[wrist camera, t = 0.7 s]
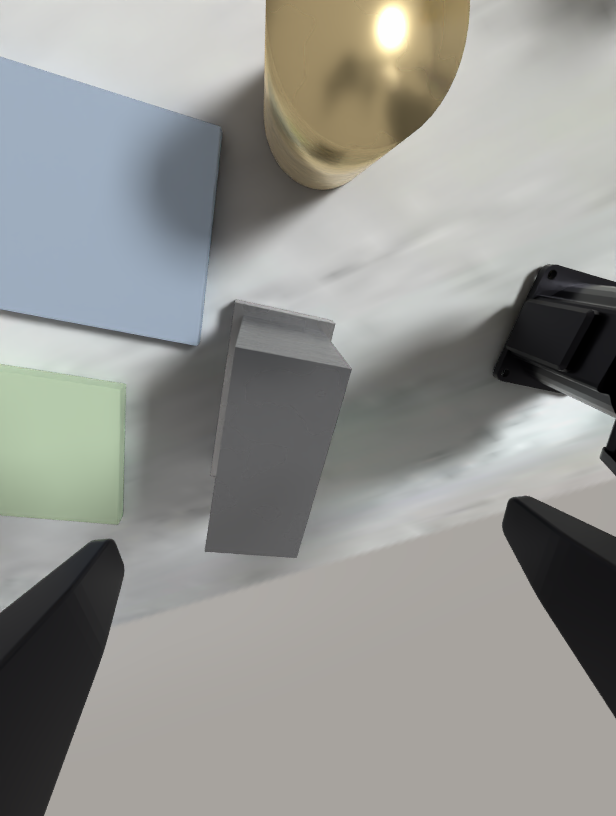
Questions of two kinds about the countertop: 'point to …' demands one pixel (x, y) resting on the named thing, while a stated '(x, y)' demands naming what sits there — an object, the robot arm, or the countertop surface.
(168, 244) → the slate mat
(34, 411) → the sage mat
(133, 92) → the countertop surface
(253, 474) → the grey block with base
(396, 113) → the gold metal cylinder
